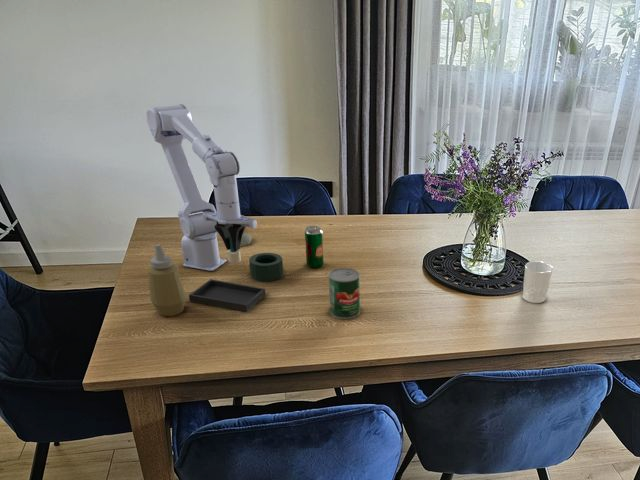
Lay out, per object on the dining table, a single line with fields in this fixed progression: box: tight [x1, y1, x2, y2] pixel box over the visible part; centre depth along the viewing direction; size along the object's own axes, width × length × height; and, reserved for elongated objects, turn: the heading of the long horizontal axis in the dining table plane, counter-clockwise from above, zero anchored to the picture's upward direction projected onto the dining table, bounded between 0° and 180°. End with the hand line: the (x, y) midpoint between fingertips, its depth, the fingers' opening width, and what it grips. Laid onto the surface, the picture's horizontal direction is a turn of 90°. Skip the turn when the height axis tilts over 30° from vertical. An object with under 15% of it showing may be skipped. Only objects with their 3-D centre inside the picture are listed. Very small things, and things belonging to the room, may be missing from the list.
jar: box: [248, 252, 284, 283], centre depth 176 cm, size 9×9×5 cm
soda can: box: [304, 225, 325, 269], centre depth 182 cm, size 5×5×12 cm
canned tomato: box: [328, 267, 361, 320], centre depth 159 cm, size 8×8×11 cm
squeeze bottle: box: [147, 243, 187, 317], centre depth 150 cm, size 8×8×18 cm
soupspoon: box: [240, 231, 252, 248], centre depth 200 cm, size 22×3×7 cm
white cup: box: [522, 260, 554, 304], centre depth 176 cm, size 8×8×10 cm
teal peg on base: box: [226, 236, 242, 264], centre depth 166 cm, size 3×3×7 cm
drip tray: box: [188, 278, 267, 313], centre depth 163 cm, size 16×10×2 cm, turn 78°
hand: (233, 249), depth 166 cm, fingers closed on teal peg on base
